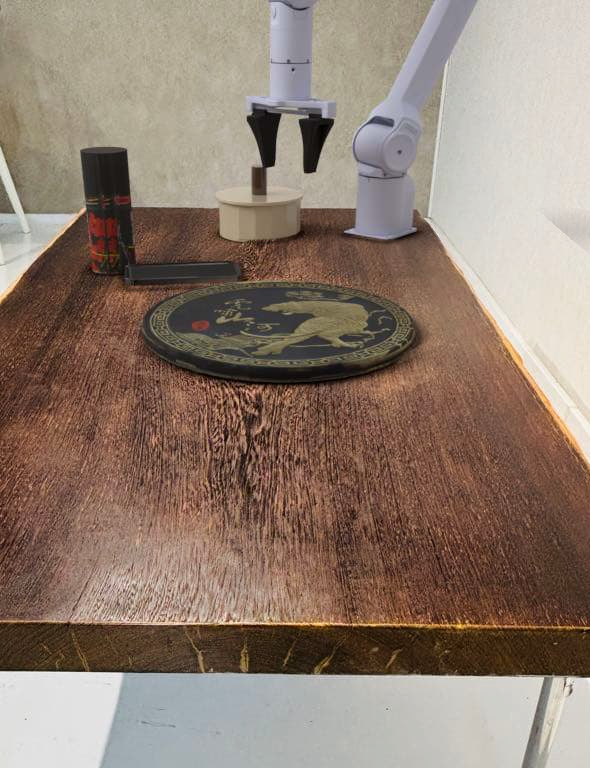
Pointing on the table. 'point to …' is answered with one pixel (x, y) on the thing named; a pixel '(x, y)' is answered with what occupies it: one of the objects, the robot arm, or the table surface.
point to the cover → (259, 192)
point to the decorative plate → (278, 331)
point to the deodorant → (108, 208)
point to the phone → (182, 273)
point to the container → (258, 221)
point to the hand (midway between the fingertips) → (288, 169)
